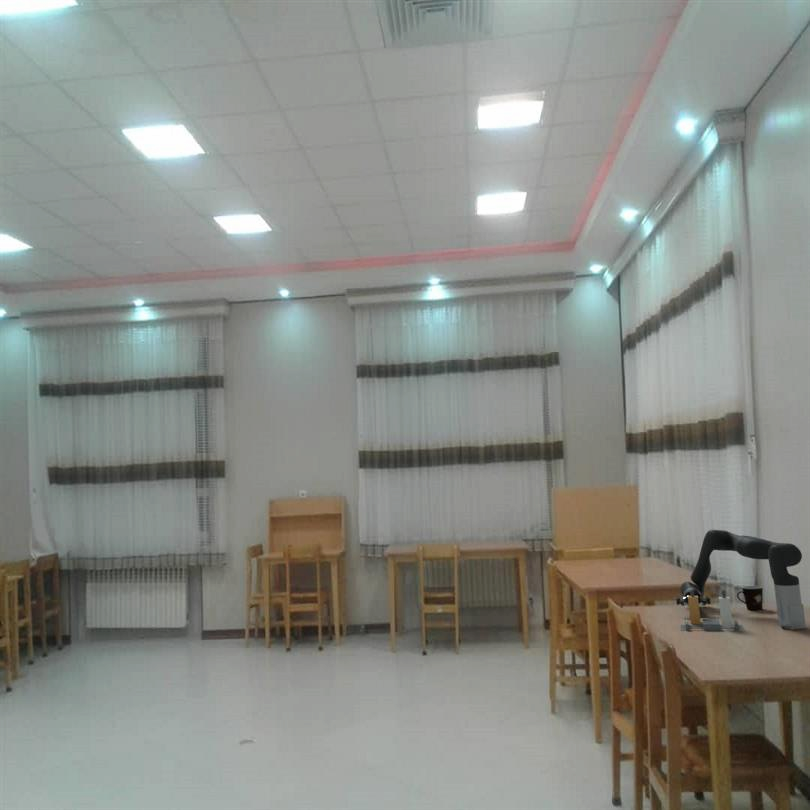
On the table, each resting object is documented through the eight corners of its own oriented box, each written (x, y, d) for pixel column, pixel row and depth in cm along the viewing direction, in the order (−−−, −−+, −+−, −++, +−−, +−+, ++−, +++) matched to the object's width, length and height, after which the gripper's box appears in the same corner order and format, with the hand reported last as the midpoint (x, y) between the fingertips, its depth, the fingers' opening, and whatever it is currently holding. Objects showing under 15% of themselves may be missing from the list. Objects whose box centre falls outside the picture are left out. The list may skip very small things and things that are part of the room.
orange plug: (700, 624, 323) (696, 588, 324) (701, 626, 319) (697, 590, 320) (690, 624, 324) (687, 588, 325) (691, 626, 320) (687, 590, 322)
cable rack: (742, 627, 312) (741, 618, 312) (745, 633, 301) (744, 624, 301) (680, 627, 320) (680, 618, 320) (681, 633, 308) (680, 624, 309)
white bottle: (732, 626, 309) (728, 589, 311) (733, 628, 306) (728, 591, 307) (721, 626, 311) (717, 589, 312) (722, 628, 307) (718, 591, 308)
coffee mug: (762, 607, 348) (760, 585, 349) (766, 611, 340) (764, 588, 341) (735, 608, 351) (733, 586, 352) (739, 611, 343) (736, 589, 344)
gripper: (675, 589, 350) (675, 595, 335) (708, 588, 346) (709, 594, 330) (677, 605, 350) (677, 612, 334) (710, 605, 345) (711, 611, 330)
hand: (693, 603), depth 332 cm, fingers open, 8 cm apart
